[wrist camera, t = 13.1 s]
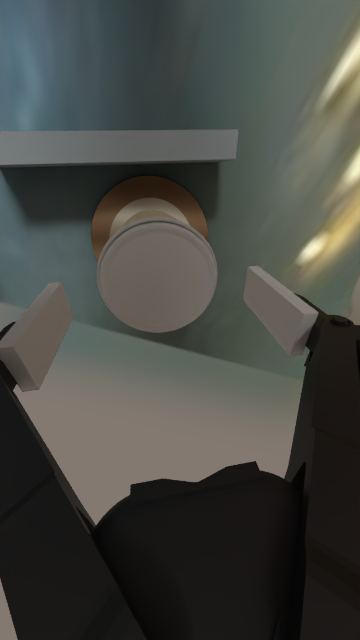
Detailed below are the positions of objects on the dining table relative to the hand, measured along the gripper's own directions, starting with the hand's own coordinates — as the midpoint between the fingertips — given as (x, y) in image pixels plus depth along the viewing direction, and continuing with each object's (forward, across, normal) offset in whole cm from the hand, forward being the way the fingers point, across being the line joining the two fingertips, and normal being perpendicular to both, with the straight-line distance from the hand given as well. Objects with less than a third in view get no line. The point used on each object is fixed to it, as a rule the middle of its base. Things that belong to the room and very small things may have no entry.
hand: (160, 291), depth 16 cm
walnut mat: (+14, 0, 0) cm, 14 cm away
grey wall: (+14, -3, +9) cm, 17 cm away
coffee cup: (+13, 0, 0) cm, 13 cm away
